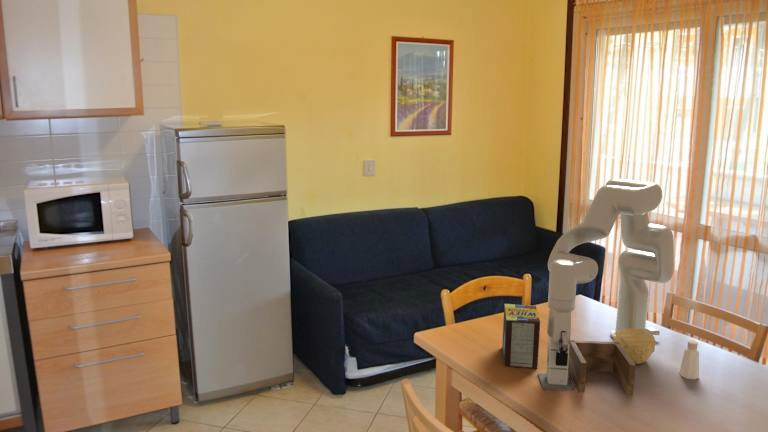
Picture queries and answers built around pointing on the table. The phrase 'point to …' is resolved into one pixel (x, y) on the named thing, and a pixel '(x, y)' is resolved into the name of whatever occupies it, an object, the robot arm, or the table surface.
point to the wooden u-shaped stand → (600, 362)
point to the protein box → (521, 336)
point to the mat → (552, 386)
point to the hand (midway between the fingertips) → (558, 358)
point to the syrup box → (554, 372)
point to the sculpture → (636, 344)
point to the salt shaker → (690, 361)
